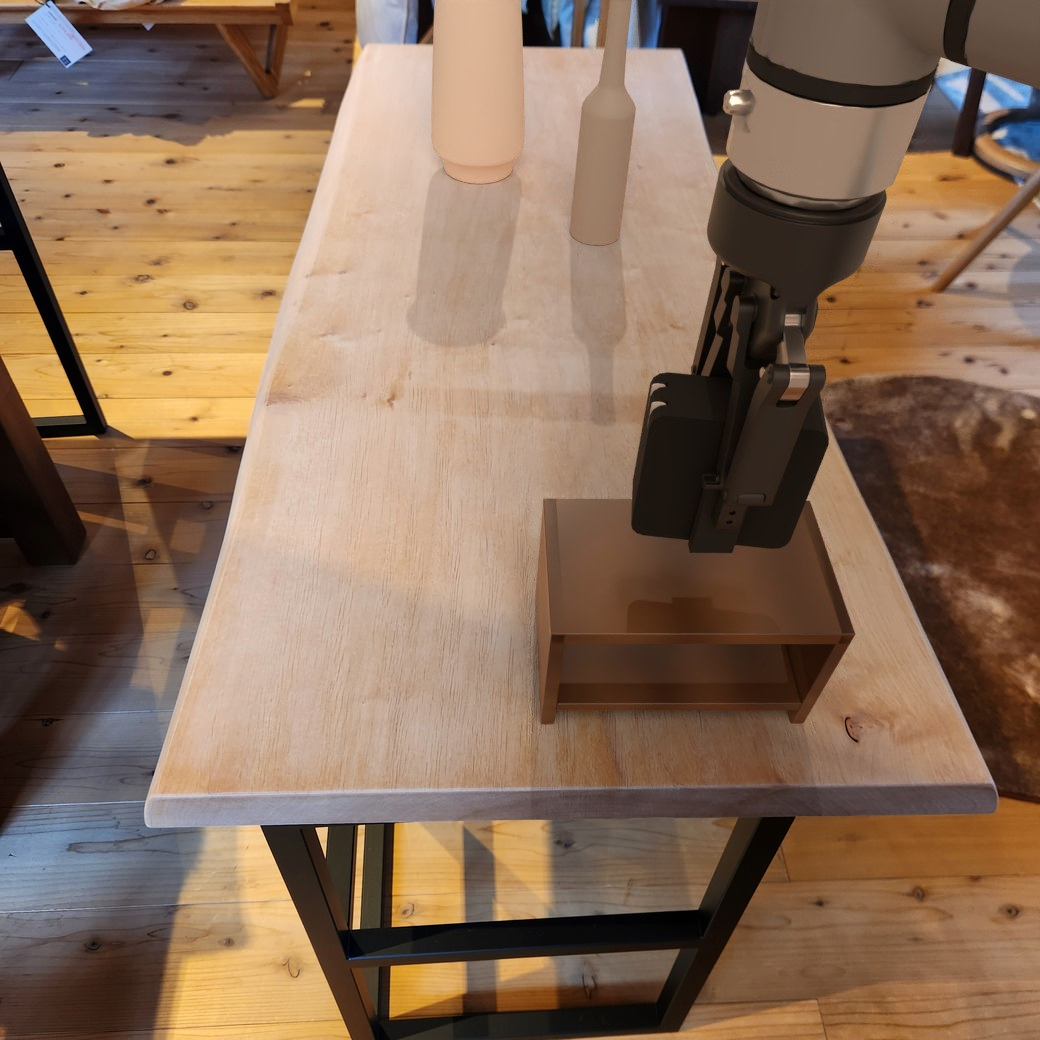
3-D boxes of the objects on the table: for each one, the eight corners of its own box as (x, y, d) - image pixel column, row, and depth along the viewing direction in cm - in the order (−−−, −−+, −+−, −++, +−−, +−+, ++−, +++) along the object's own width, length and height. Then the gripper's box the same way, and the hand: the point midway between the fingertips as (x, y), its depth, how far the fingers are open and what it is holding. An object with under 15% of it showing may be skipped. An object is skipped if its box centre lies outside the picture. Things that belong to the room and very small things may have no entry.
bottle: (571, 244, 109) (593, -1, 88) (568, 218, 113) (589, -21, 92) (622, 246, 109) (656, 2, 88) (617, 220, 113) (649, -19, 93)
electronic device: (786, 551, 54) (833, 433, 47) (629, 535, 55) (651, 415, 47) (780, 504, 57) (824, 386, 49) (630, 489, 57) (652, 369, 50)
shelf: (769, 596, 72) (810, 500, 63) (803, 723, 64) (856, 634, 55) (535, 595, 72) (543, 498, 63) (540, 724, 64) (550, 634, 55)
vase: (523, 191, 118) (532, -43, 97) (429, 188, 117) (418, -48, 97) (523, 148, 126) (531, -75, 106) (435, 145, 126) (427, -79, 105)
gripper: (692, 87, 44) (631, 425, 61) (765, 279, 32) (664, 629, 50) (834, 92, 44) (734, 426, 62) (959, 283, 32) (791, 629, 50)
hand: (703, 516), depth 55 cm, fingers closed on electronic device, 5 cm apart
